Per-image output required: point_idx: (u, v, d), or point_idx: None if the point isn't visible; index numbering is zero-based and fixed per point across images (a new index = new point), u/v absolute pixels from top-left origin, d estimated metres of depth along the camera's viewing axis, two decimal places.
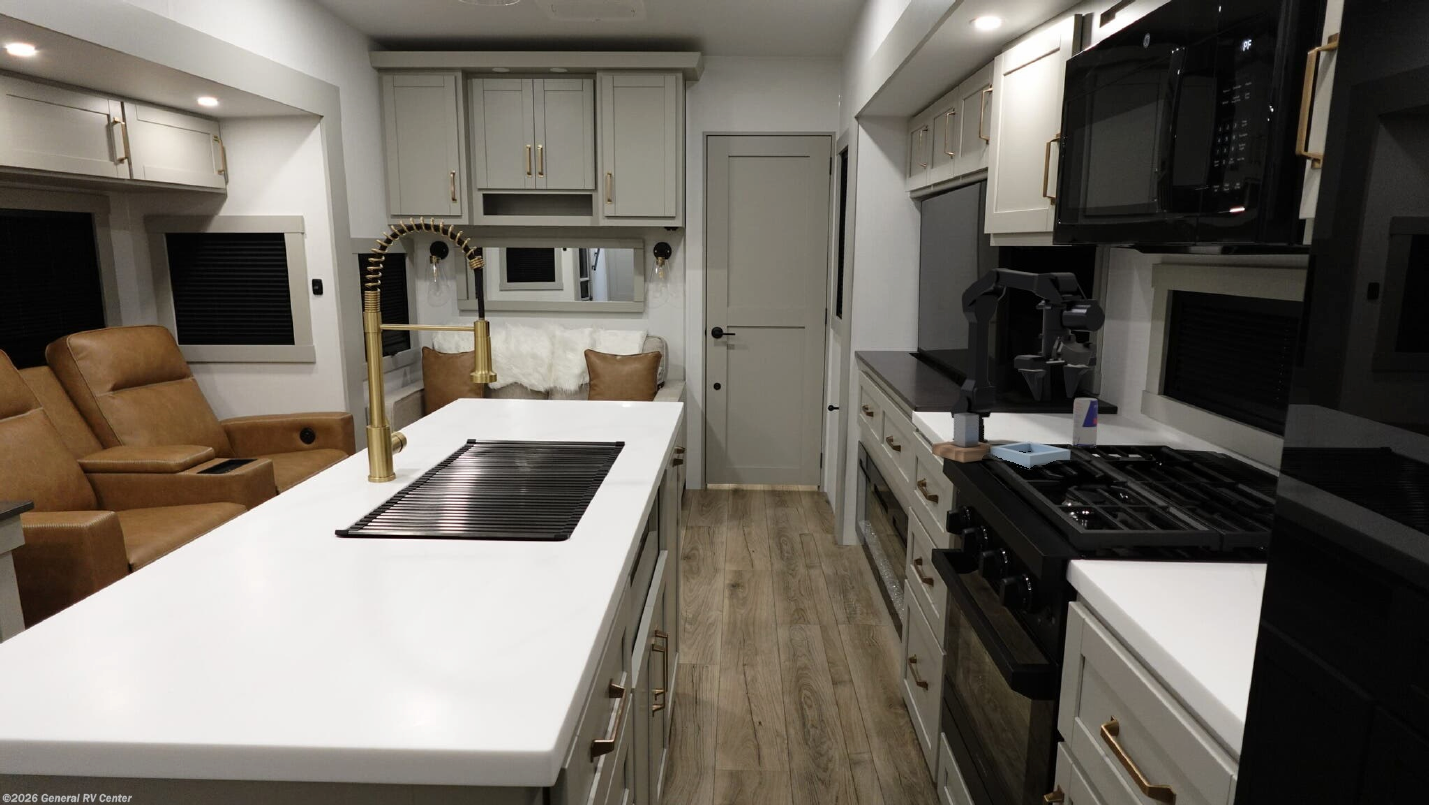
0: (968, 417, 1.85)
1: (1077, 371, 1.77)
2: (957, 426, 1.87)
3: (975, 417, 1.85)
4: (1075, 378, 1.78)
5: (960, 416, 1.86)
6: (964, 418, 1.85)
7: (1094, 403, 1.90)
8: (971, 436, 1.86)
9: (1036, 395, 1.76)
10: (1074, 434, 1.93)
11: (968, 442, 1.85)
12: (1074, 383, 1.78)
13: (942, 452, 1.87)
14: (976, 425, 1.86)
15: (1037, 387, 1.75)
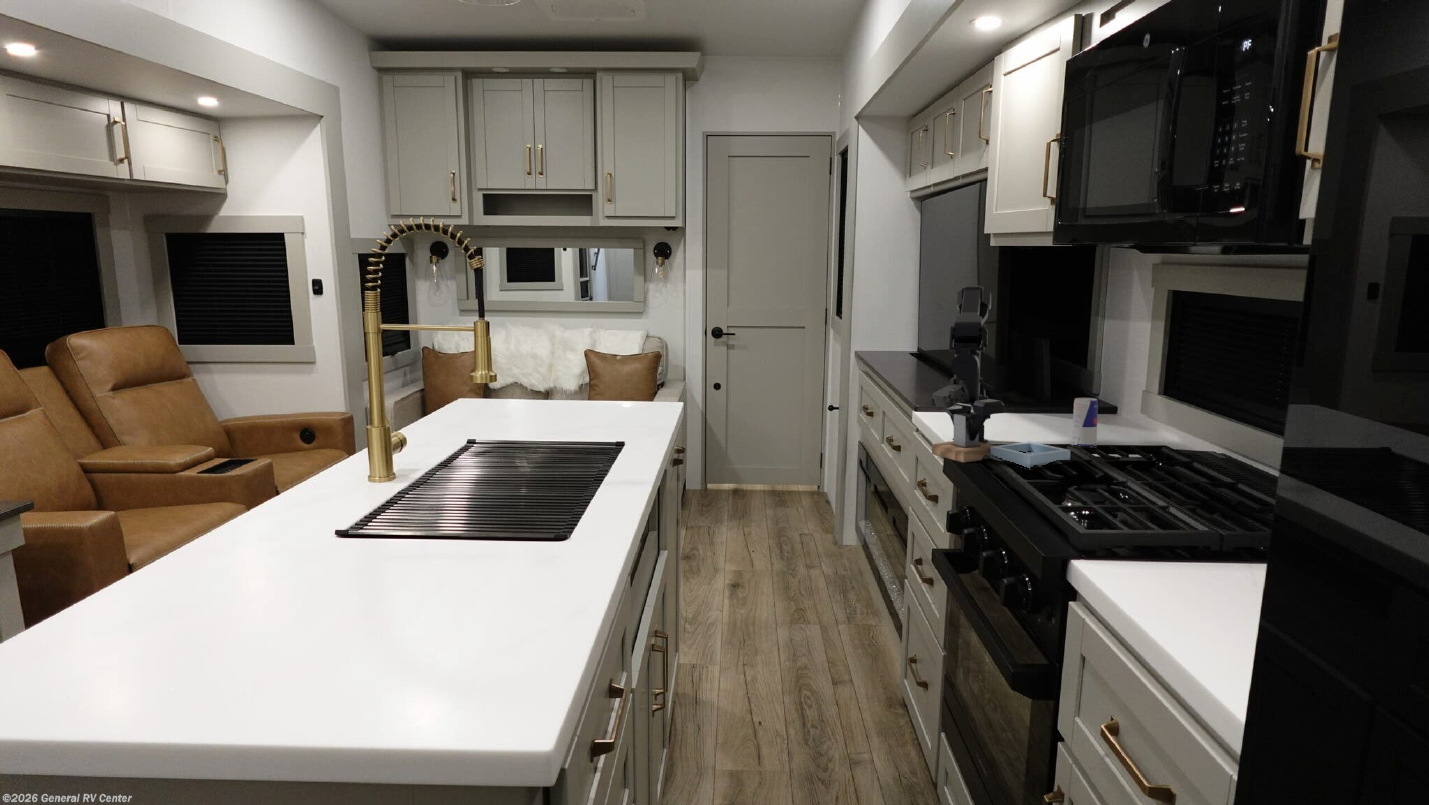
0: None
1: None
2: (957, 426, 1.87)
3: None
4: None
5: (960, 416, 1.86)
6: (964, 418, 1.85)
7: (1094, 403, 1.90)
8: None
9: None
10: (1074, 434, 1.93)
11: (968, 442, 1.85)
12: (969, 427, 1.85)
13: (942, 452, 1.87)
14: None
15: None
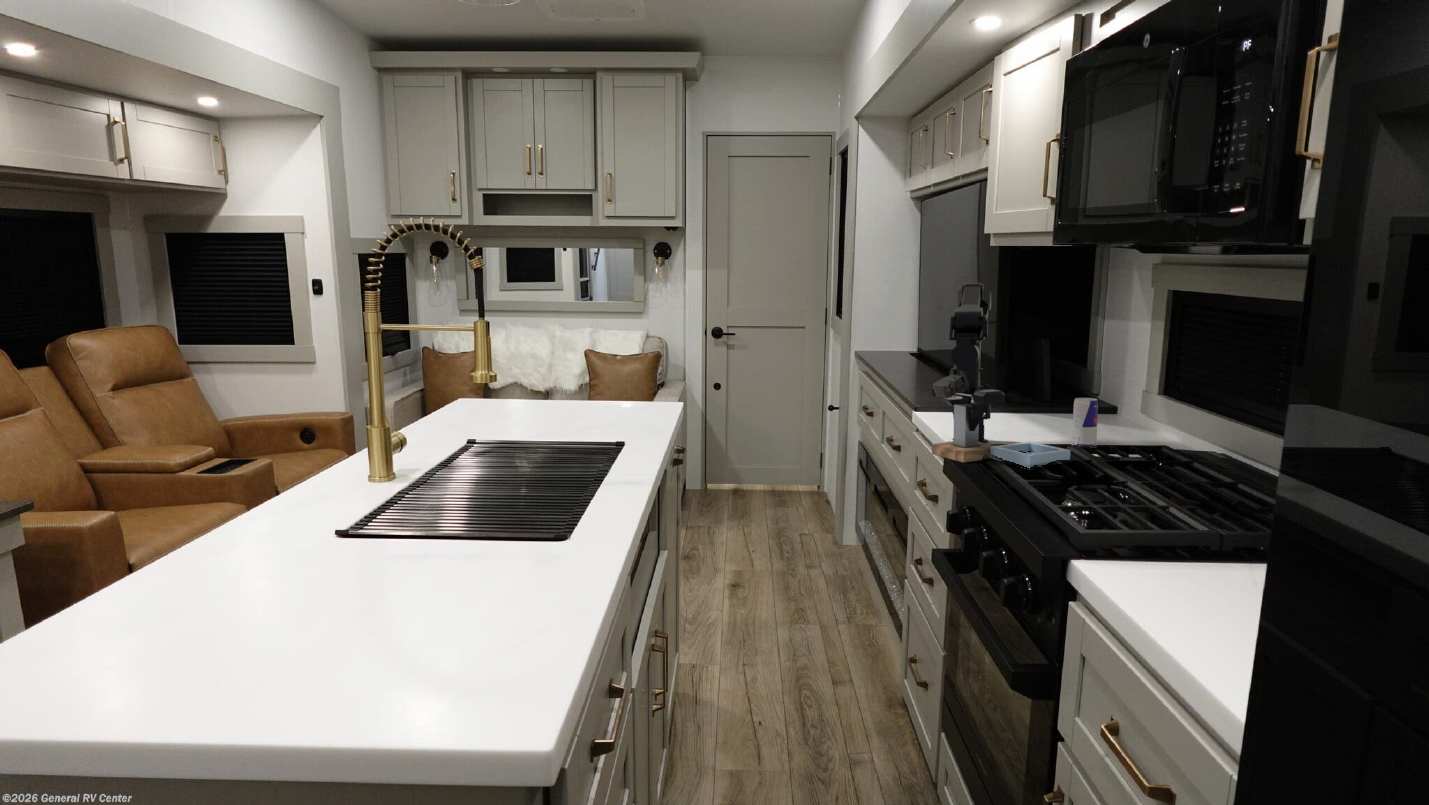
0: None
1: None
2: (958, 416, 1.86)
3: None
4: None
5: (960, 406, 1.85)
6: (964, 408, 1.84)
7: (1094, 403, 1.90)
8: None
9: None
10: (1074, 434, 1.93)
11: (968, 433, 1.85)
12: (969, 417, 1.84)
13: (942, 452, 1.87)
14: None
15: None
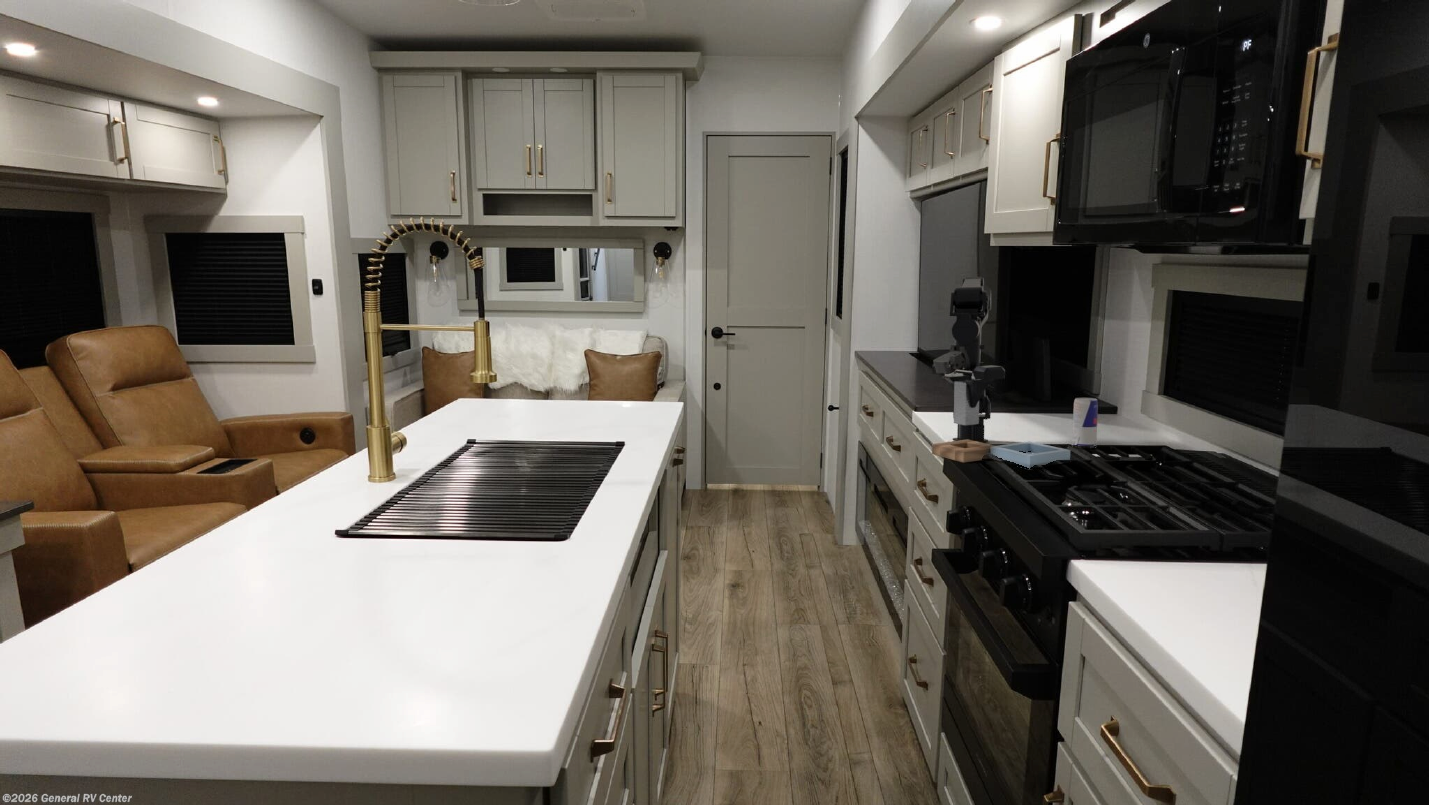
0: None
1: None
2: (958, 393, 1.86)
3: None
4: None
5: (961, 383, 1.85)
6: (965, 385, 1.83)
7: (1094, 404, 1.90)
8: None
9: None
10: (1074, 434, 1.93)
11: (969, 409, 1.84)
12: None
13: (942, 452, 1.87)
14: None
15: None
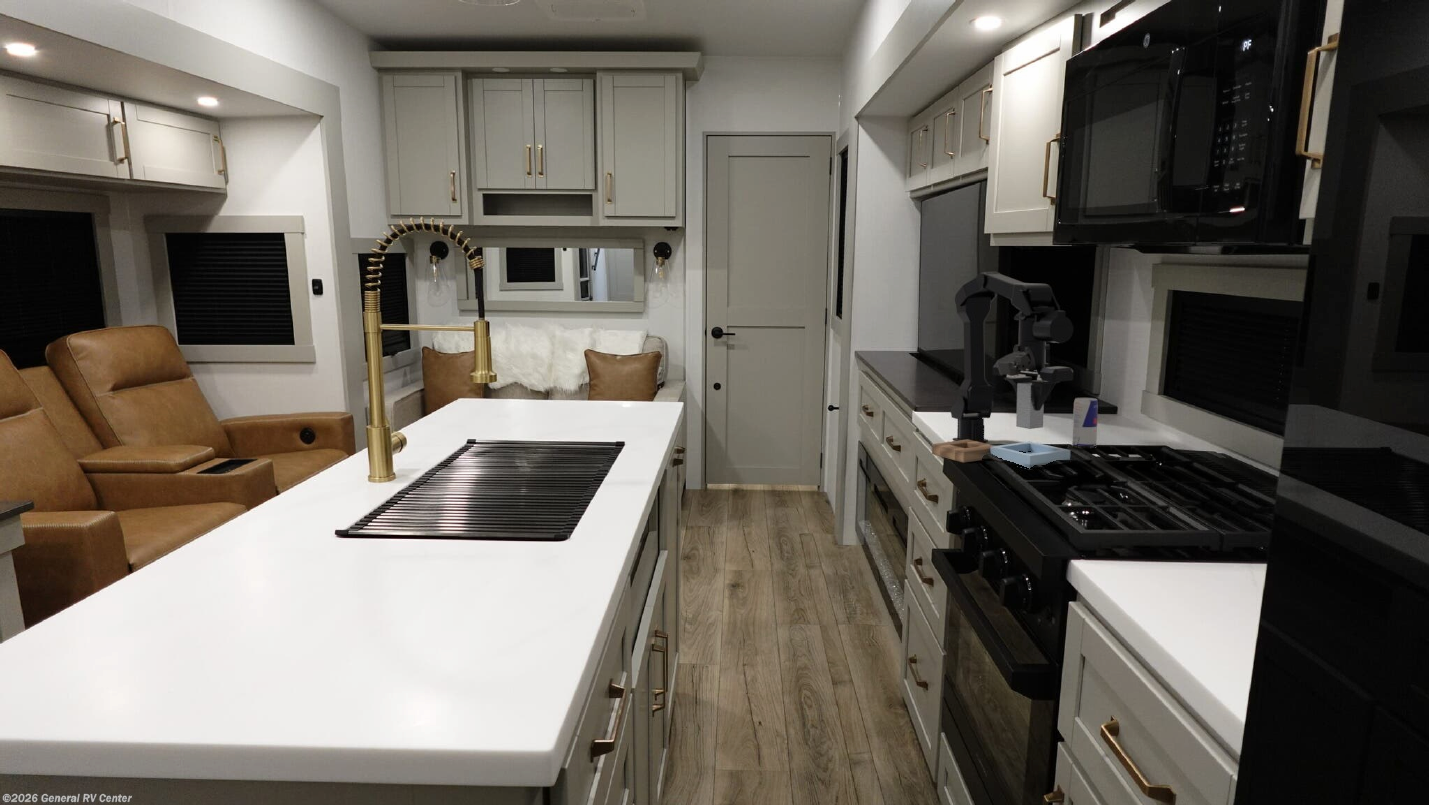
0: (1033, 386, 1.76)
1: None
2: (1021, 395, 1.78)
3: None
4: None
5: (1025, 385, 1.77)
6: (1029, 387, 1.76)
7: (1094, 404, 1.90)
8: None
9: None
10: (1074, 434, 1.93)
11: (1033, 412, 1.77)
12: None
13: (942, 452, 1.87)
14: None
15: None
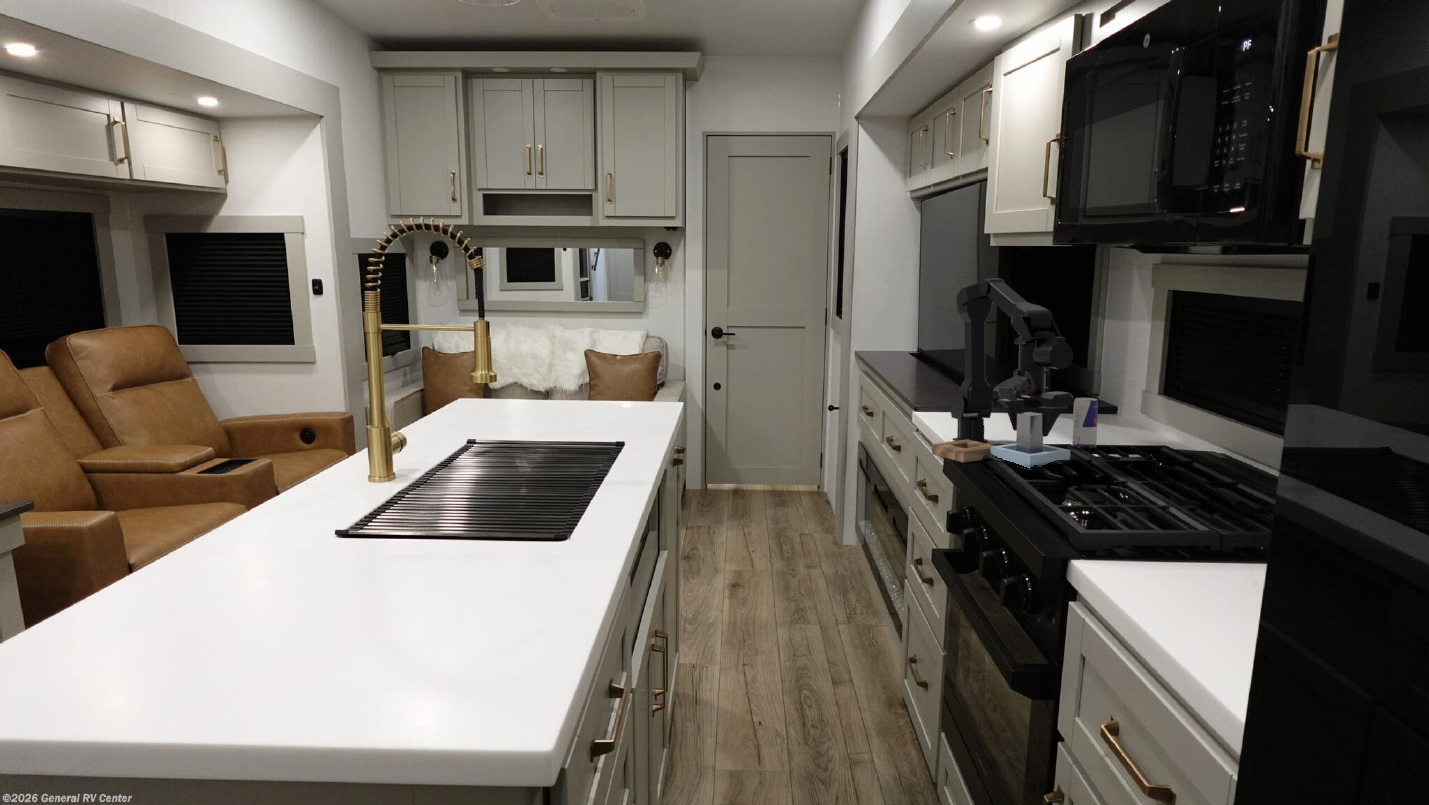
0: (1033, 417, 1.77)
1: None
2: (1021, 426, 1.79)
3: (1040, 417, 1.78)
4: None
5: (1024, 415, 1.78)
6: (1029, 418, 1.77)
7: (1094, 404, 1.90)
8: (1036, 436, 1.78)
9: None
10: (1074, 434, 1.93)
11: (1033, 443, 1.78)
12: (1042, 422, 1.75)
13: (942, 452, 1.87)
14: (1041, 425, 1.78)
15: None
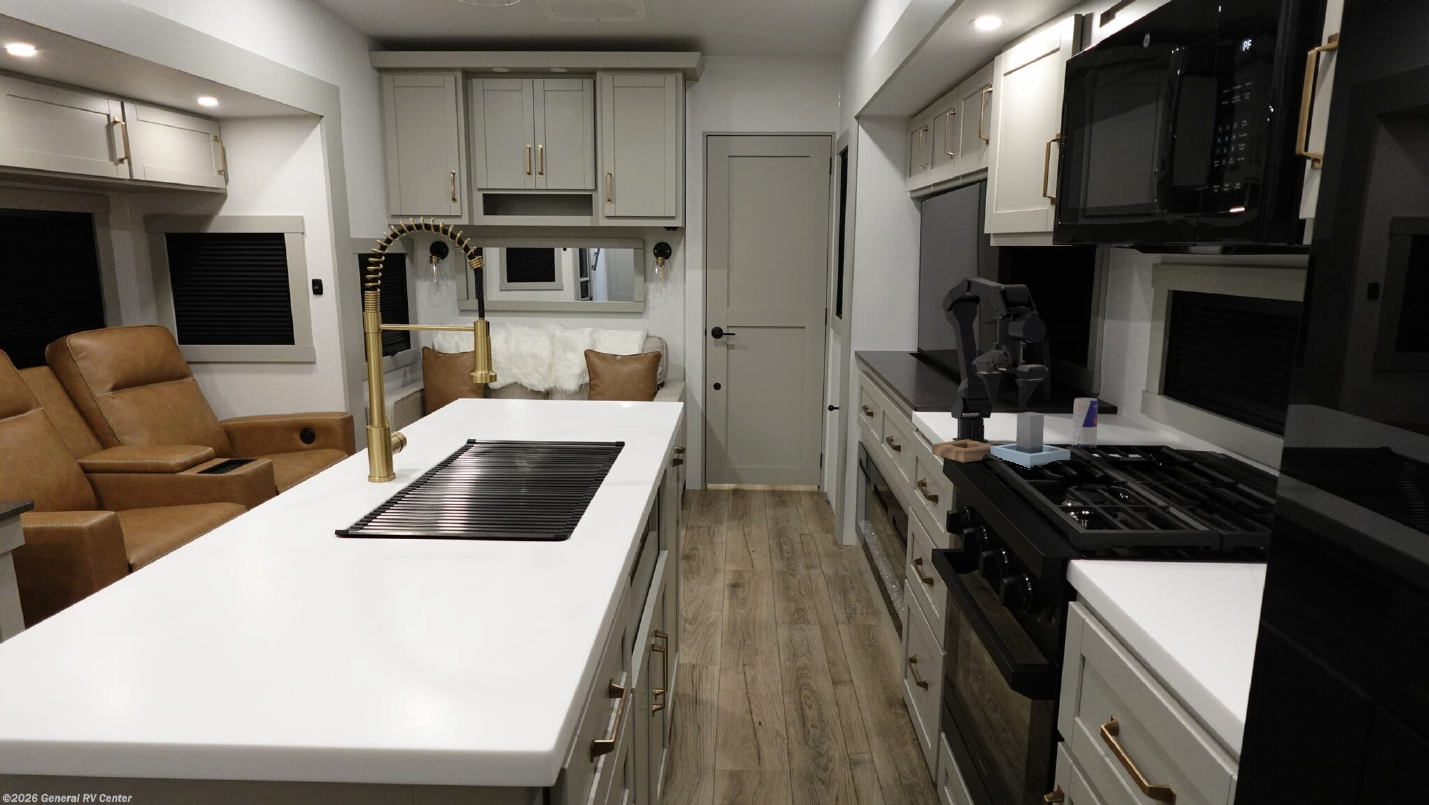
0: (1033, 417, 1.77)
1: None
2: (1021, 426, 1.79)
3: (1040, 417, 1.78)
4: None
5: (1024, 415, 1.78)
6: (1029, 418, 1.77)
7: (1094, 403, 1.90)
8: (1036, 436, 1.78)
9: None
10: (1074, 434, 1.93)
11: (1033, 443, 1.78)
12: None
13: (942, 452, 1.87)
14: (1041, 425, 1.78)
15: None
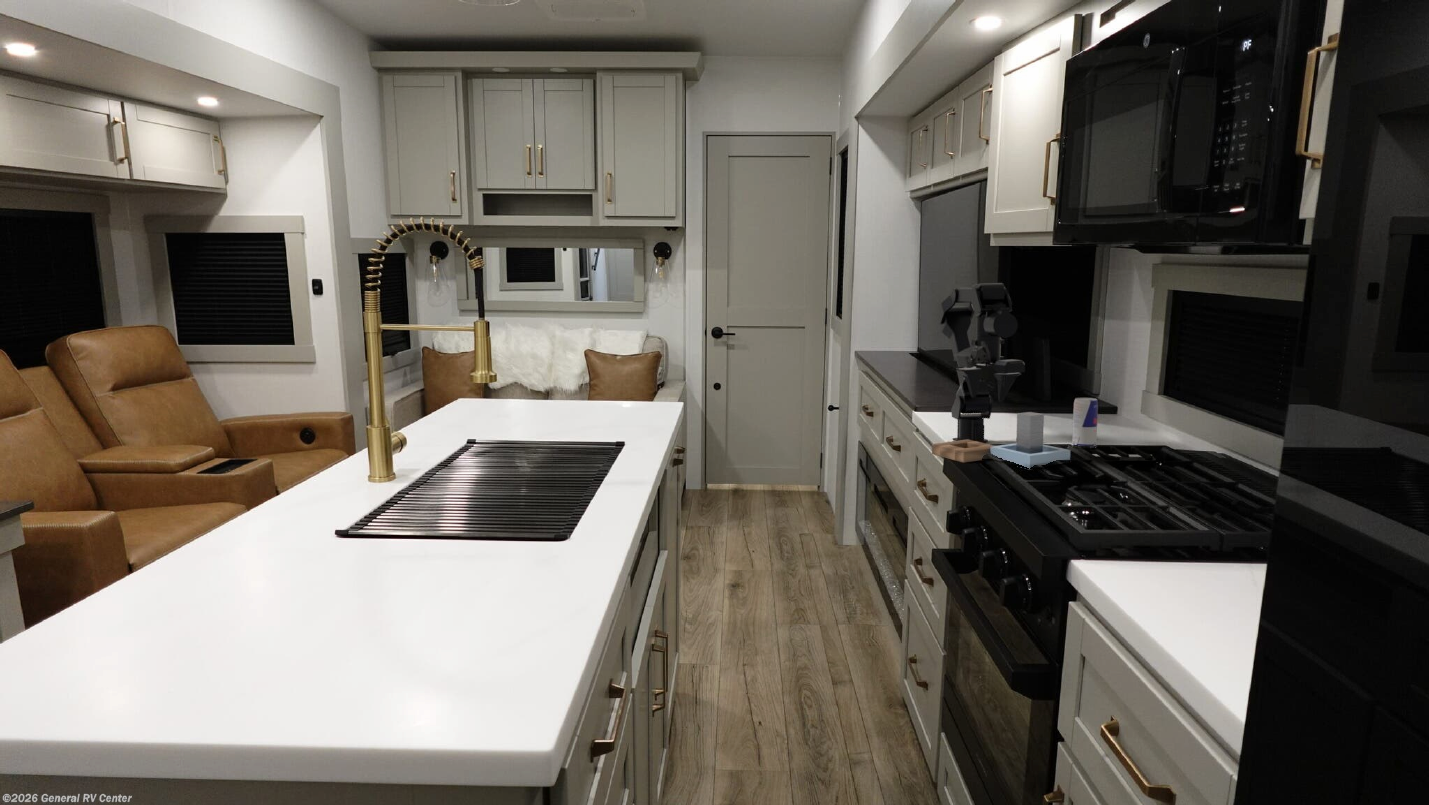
0: (1033, 417, 1.77)
1: None
2: (1021, 426, 1.79)
3: (1040, 417, 1.78)
4: None
5: (1024, 415, 1.78)
6: (1029, 418, 1.77)
7: (1094, 403, 1.90)
8: (1036, 436, 1.78)
9: None
10: (1074, 434, 1.93)
11: (1033, 443, 1.78)
12: None
13: (942, 452, 1.87)
14: (1041, 425, 1.78)
15: None
